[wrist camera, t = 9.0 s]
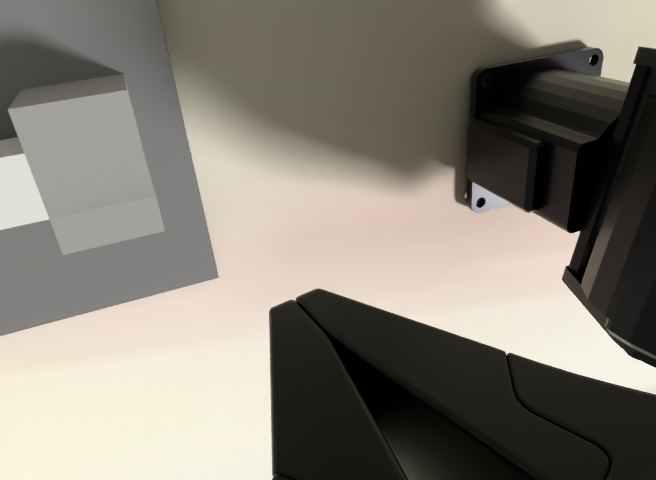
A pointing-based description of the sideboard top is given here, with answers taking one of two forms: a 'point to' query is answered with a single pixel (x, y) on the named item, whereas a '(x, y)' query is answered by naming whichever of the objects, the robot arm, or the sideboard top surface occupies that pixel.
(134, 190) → the grey board
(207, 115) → the sideboard top surface
